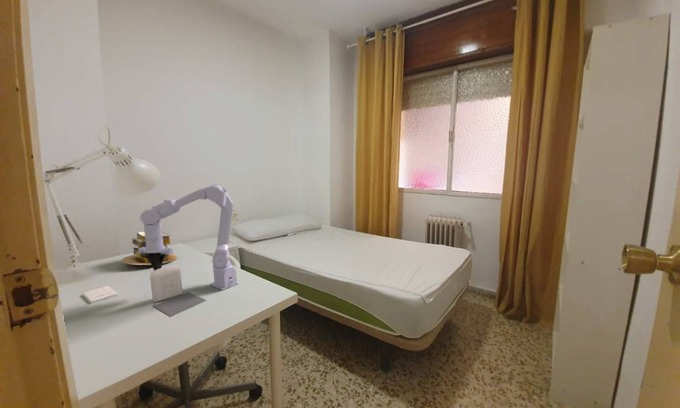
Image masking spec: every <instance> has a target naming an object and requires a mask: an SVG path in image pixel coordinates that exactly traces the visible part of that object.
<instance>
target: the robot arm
mask: <svg viewBox="0 0 680 408" xmlns="http://www.w3.org/2000/svg"><path fill="white" fill-rule="evenodd" d="M197 200H209V201H210V202H213V203H215V204H216V205H217V206H218V207H219V208H220V215H219V216H220V217H219V225H218V233H217V241H216V242H217V243H216V249H215V252H214V255H213V257H212V260H211V261H212V269H213V270H212V271H213V282H211V283H210V286H212V287H214V288H217V289H220V290H222V291H224V290H226V289H228V288H231V287H232V286H235V285H238V284H239V283H240V282H239V281H238V280H237V279H238V278H237V270H236V269H235V267H233V265H232V263H231V261H230V259H229V258H230V250H229V243H230V235H231V234H230V233H231V227H232V218H233V209H234V203H233V201H232V199H231V197H230V195H229V193H228V191H227V190H226V189H225V188H224V187H223V186H222V185H220V184H212V185H211V186H205V187H204V188H199V189H196V190H195V191H192V192H191V193H189V194H186V195H185V196H183V197H181V198H179V199H173V198H171V199H168V198H166V199H165V200H163V202H161V203H160V204H156V205H155V204H154V205H152V206H151V208H149V209H145V210H144V211H142V213H141V214H140V221H141V223H143V232H144V233H145V241H146V247H142V248H139V249H138V252H139V253H148V255H147V256H146V258H147V259H148V260H149V262H150V263H151V265H150V266H151V267H152V270H153V271H155V270H157V269H160V268H163V264H164V263H163V260H164V257H165V255H166V254H167V255H170V254H173V255H174V249H173V248H169V247H168V248H166V247H165V246H164V245H163V236H162V233H163V227H162V224H161V223H162V222H161V219H162V220H163V219H166V218H168V217H170V216H172V215H174V214H177V213H178V212H179V211H180V210H181V207H183V206H185V205H188V204H190V203H192V202H195V201H197Z"/></svg>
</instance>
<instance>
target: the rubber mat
mask: <svg viewBox="0 0 680 408" xmlns="http://www.w3.org/2000/svg"><path fill="white" fill-rule="evenodd" d="M206 301H207V299H205V298H203V297H201V296H198V295H196V294H194V293H192V292H190V291H187V292H185V293H182V294H180V295H177V296H174V297H171V298H168V299H165V301H162V302H160V303H156V304H154V305H153V306H152V307H153V308H155V309H157V310H158V311H161V312H162V313H163V314H165V315H167V316H168V317H170V318H171V317H173V316H175V315H177V314H180V313H182V312H183V311H186V310H188V309H191V308H193V307H195V306H197V305H199V304H201V303H203V302H206Z"/></svg>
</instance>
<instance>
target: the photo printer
mask: <svg viewBox="0 0 680 408" xmlns="http://www.w3.org/2000/svg"><path fill="white" fill-rule="evenodd" d="M181 274H182V272H181V269H180V266H178V265H167V266H162V268H160V269H157V270H155V271H154V270H153V271H151V272H150V276H149V280H150V288H151V298H152V301H153V302H154V303H156V302H160V301H163V300H168V299H172V298H174V297H177V296H179V295H182V294H184V293H183V292H184V290H183V283H182V275H181Z"/></svg>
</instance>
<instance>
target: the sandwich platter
mask: <svg viewBox="0 0 680 408" xmlns="http://www.w3.org/2000/svg"><path fill="white" fill-rule="evenodd" d="M162 236H163V245H164V246H165V247H166V248H169V247H168V245H170V244H171V238H170V234H168V233H164V232H162ZM132 245H135V246H137V247H132V249H133V254H132V255H128V256H125V257H123V258H122V259H121V262H122V263H124V264H128V265H132V266H133V265H136V266H138V265H139V266H143V265H144V266H152V265H151V263H150V262H149V260H148V259H147V258H146V256H147V255H148V253H139V252H138V249H139V248H142V247H146V241H145V233H144V231H137V232H136V237H134V238H132ZM177 259H178V257H177V255H175V254H174V253H173V254H170V255H167V254H166V255H165V257H164V260H163V263H162V264H165V263H171V262H174V261H175V260H177Z"/></svg>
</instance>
